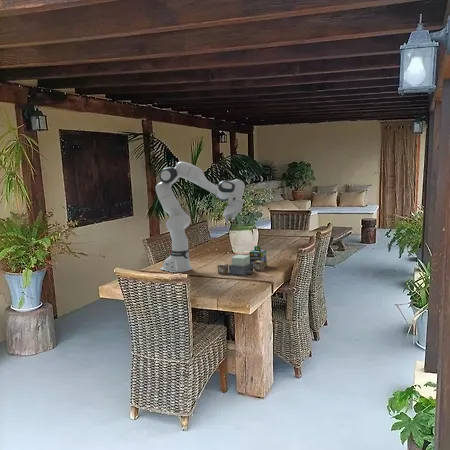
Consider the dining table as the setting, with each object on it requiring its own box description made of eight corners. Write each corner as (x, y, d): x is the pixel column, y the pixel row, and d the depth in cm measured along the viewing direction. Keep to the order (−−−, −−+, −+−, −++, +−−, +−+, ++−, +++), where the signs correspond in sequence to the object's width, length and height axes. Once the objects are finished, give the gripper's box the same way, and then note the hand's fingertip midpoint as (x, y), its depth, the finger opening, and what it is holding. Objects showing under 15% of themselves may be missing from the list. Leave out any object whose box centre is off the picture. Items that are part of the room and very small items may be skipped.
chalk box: (267, 265, 310) (266, 245, 308) (261, 268, 302) (260, 247, 300) (255, 264, 314) (254, 244, 312) (249, 267, 307) (248, 246, 305)
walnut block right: (254, 271, 297) (253, 261, 296) (257, 269, 301) (257, 260, 300) (260, 271, 294) (260, 262, 293) (264, 269, 299) (263, 260, 298)
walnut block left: (217, 274, 293) (217, 264, 292) (222, 272, 297) (221, 263, 296) (224, 274, 290) (224, 265, 289) (228, 272, 295) (228, 263, 294)
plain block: (231, 269, 291) (231, 257, 289) (238, 266, 298) (237, 254, 297) (243, 270, 286) (243, 258, 285) (250, 267, 294) (249, 255, 293)
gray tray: (229, 274, 291) (228, 265, 290) (237, 270, 301) (237, 261, 300) (245, 276, 285) (244, 267, 284) (253, 271, 295) (252, 263, 294)
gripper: (223, 204, 303) (218, 222, 298) (237, 196, 285) (232, 215, 281) (231, 207, 305) (226, 225, 301) (245, 200, 288) (240, 219, 283)
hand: (229, 221), depth 291 cm, fingers open, 8 cm apart
